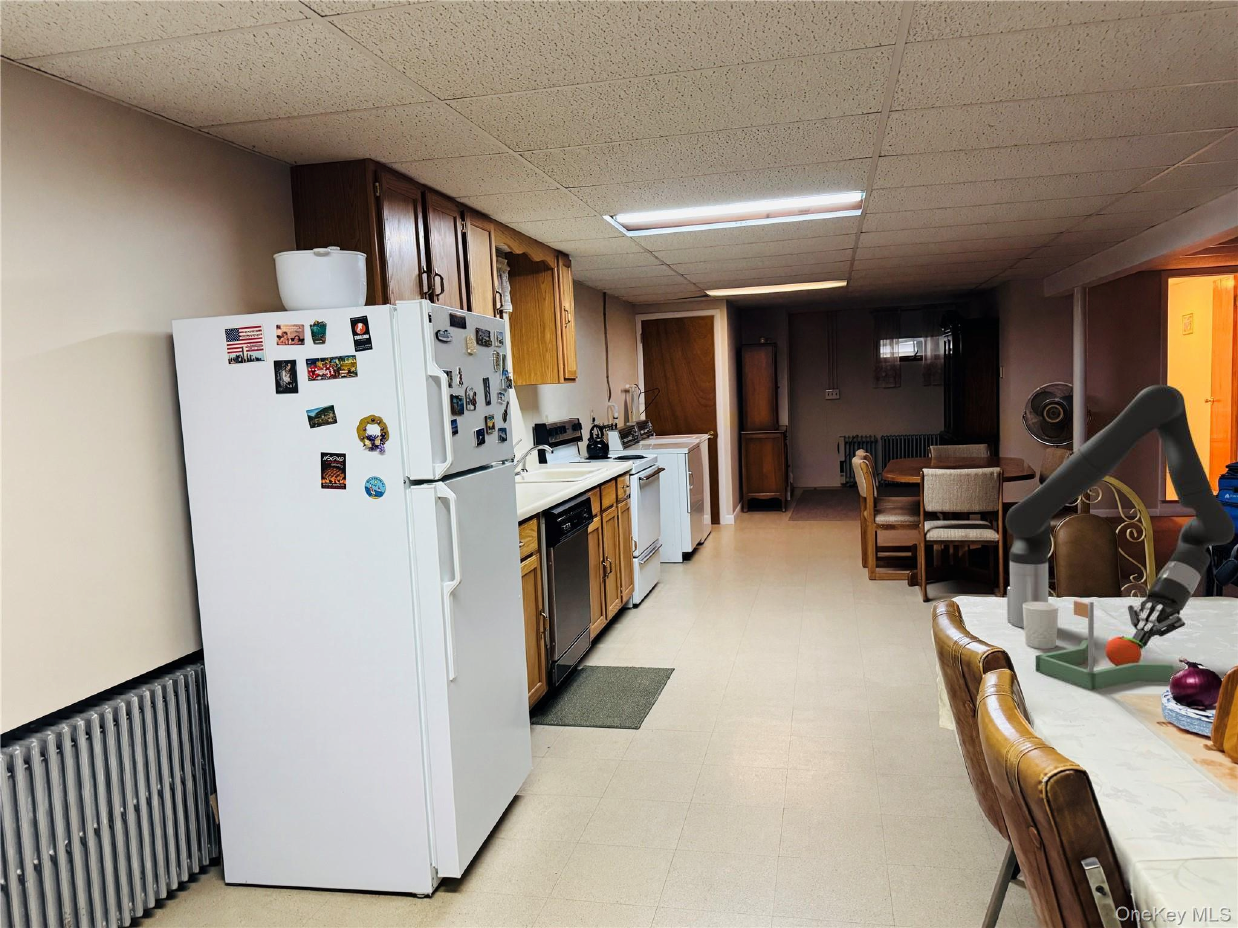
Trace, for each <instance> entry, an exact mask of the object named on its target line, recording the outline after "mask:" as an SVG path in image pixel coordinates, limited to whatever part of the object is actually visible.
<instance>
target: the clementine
mask: <svg viewBox="0 0 1238 928" xmlns="http://www.w3.org/2000/svg"><path fill="white" fill-rule="evenodd" d="M1136 642H1137V643H1139V644H1141V643H1140V642H1138V641H1137V640H1135V639H1132V637H1126V636H1124V635H1123V636H1115V637H1113V638H1112V639H1110V640H1109V641H1108V642H1107V644H1106V646H1105V650H1104V651H1105V655H1106V658H1107V660H1108V661H1109V663H1110V664H1112V665H1114V667H1115V666H1120V665H1125V664H1130V663H1140V660H1141V659H1142V658H1141V657H1142V649H1140V647H1139V646H1138V644H1137V643H1136ZM1141 645H1142V644H1141ZM1142 646H1143V645H1142ZM1143 648H1144V649H1145V651H1147V650H1146V646H1145V647H1144V646H1143Z"/></svg>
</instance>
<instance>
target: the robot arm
mask: <svg viewBox="0 0 1238 928" xmlns="http://www.w3.org/2000/svg"><path fill="white" fill-rule="evenodd" d="M1185 403H1186V402H1185V398H1184V395H1183V394H1182V392H1181V391H1179V390H1178V389H1177V388H1176V387H1174V386H1170V385H1167V384H1166V385H1164V384H1154V385H1150V386H1148V387H1146V388H1144V389H1143V390H1141V391H1140V392H1138V394H1137V395H1136V396H1135V398H1134V399H1132V401H1131V402H1130V403H1129V404H1128V405H1127V406H1126V407H1125V408H1124V410H1123V411H1122V412H1120V414H1119V415H1118V416H1117V417H1116V418H1115V419H1113V421H1112V422H1111V423H1109V424H1108V425H1107V426H1106V427H1104V428H1103V429H1100V431H1099V432H1097V433H1096V434H1095V435H1093V436H1092V437H1091V438H1090V439H1089V440H1087V441H1086V442H1085V443H1084V444H1082V445H1081V446H1080V447H1079V448H1078V449H1077V450H1076V451H1074V452H1073V453H1072V454H1071V455H1070V456H1068V458H1067V459H1066V460H1064V462H1063V463H1062V464H1061V465H1060V466H1059V467H1057V468H1056V470H1055V471H1054V472H1053V473H1052V474H1050V476H1049V477H1048V478H1047V479H1046V480H1045V481H1044V482H1043V483H1042V484H1041V485H1040V486H1039V487H1038V488H1037V489H1036V490H1034V491H1033V492H1032V493H1030V494H1029V495H1028V496H1027V497H1025V498H1024V499H1022V500H1021V501H1020V502H1018V503H1017V504H1014V505H1013V506H1012V507H1011V508H1009V510H1008V512H1007V514H1006V516H1005V526H1006V529H1007V531H1008V532H1009V533H1010V534H1011V535H1013V542H1012V546H1011V548H1010V551H1009V586H1008V587H1007V588H1006V598H1007V599H1006V601H1007V602H1006V607H1007V609H1006V613H1007V615H1006V616H1007V617H1006V620H1007V622H1008V623H1010V624H1011V625H1012V626H1015V627H1017V628H1022V629H1024V620H1023V604H1024V603H1026V602H1047V603H1049V554H1050V550H1051V535H1052V532H1051V529H1052V528H1051V527H1052V525H1051V518H1052V517H1054V515H1056V514H1057V512H1059V511H1060V510H1061V509H1062V508H1063V507H1064V506H1066V505H1068V504H1069V503H1072V502H1073V501H1074V500H1076V499H1077V498H1079V497H1081V496H1082V495H1084V494H1086V493H1087V492H1088V491H1090V490H1091V489H1093V488H1094V487H1095V486H1096V485H1098V484H1099V483H1100V482H1101V481H1103V480H1104V479H1105V478H1106V477H1107V476H1109V475H1110V474H1111V473H1112V472H1113V471H1114V470H1115V469H1116V468H1117V467H1118V466H1119V465H1120V464H1121V462H1122V461H1123V460H1124V459H1125V458H1126V456H1127V455H1128V454H1129V452H1130V451H1131V450H1132V448H1133V447H1134V446H1135V445H1136V444H1137V443H1139V441H1141V440H1142V439H1143V438H1145V437H1146V436H1147V435H1149V434H1150V433H1152V431H1154V430H1155V431H1156V432H1157V434H1158V437H1159V439H1160V441H1161V443H1162V447H1163V451H1164V455H1165V460H1166V465H1167V466H1166V467H1167V471H1168V474H1169V479H1170V482H1171V485H1172V487H1173V489H1174V492H1175V495H1176V497H1177V500H1178V502H1179V504H1180V506H1181V507H1182V508H1185V509H1190V510H1193V511H1194V512H1195V513H1196V515H1197V517H1194V518H1191V519H1189V520H1188V521H1187V522H1186V523H1184V525H1183V526H1182V528H1181V530H1180V532H1179V536H1178V541H1177V543H1176V549H1175V551H1174V552H1173V554H1172V555H1171V557H1170V558H1169V560H1168V561H1167V563H1166V564H1165V565H1164V567H1163V568H1162V569H1161V570H1160V572H1159V573H1158V575H1157V577H1156V578H1155V580H1154V581H1153V583H1152V585H1151V586H1150V587H1149V590H1148V591H1147V595H1146V597H1145V599H1144V600H1142V601H1141V602H1140V605H1137V606H1134V605H1132V604H1129V605H1128V606H1127V610H1128V611H1127V612H1128V615H1129V619H1130V623H1131V626H1133V627H1134V629H1135V630H1136V631H1135V632H1134V634H1133V636H1132V637H1131V638H1132V639H1135V640H1137V641H1138V642H1140V643H1141V644H1142V645H1143V646H1144V647H1145V648H1146V646H1148V643H1149V642H1150V641H1151V639H1152V638H1153V637H1155V636H1158V637H1160V638H1161V637H1165V636H1166V635H1168V634H1170V633H1172V632H1173V631H1177V630H1178V629H1180V628H1183V627H1185V625H1186V622H1185V620H1183V618H1182V617H1181V616H1180V615H1181V612H1182V611H1183V609H1184V608H1185V606H1186V605H1187V603H1188V601H1189V600H1190V598H1191V597H1192V595H1193V593H1194V592H1195V591H1196V588H1198V587H1197V586H1198V584H1199V583H1200V580H1201V578H1202V576H1203V575H1204V573H1205V571H1206V570H1207V568H1208V566H1209V565H1210V562H1211V557H1210V555H1209V553H1208V552H1207V551H1206V550H1207V548H1208V547H1213V546H1219V545H1226V544H1228V543H1230V542H1231V541H1232V540H1233V538H1234V537H1235V533H1236V529H1235V523H1234V521H1233V519H1232V517H1231V516H1230V514H1229V512H1227V510H1226V509H1225V507H1224V506H1223V504H1222V503H1221V502H1220V501H1219V499H1218V498H1217V497H1216V496H1215V494H1214V492H1213V489H1212V486H1211V484H1210V481H1209V479H1208V478H1209V477H1208V475H1207V473H1206V471H1205V468H1204V466H1203V464H1202V461H1201V459H1200V456H1199V453H1198V452H1197V448H1196V445H1195V443H1194V441H1193V436H1192V433H1191V431H1190V430H1191V429H1190V426H1189V422H1188V421H1189V420H1188V416H1187V409H1186V404H1185ZM1136 643H1137V642H1136ZM1137 644H1138V646H1139V647H1140V649H1141V650H1143V648H1144V647H1143V646H1142V645H1141V644H1139V643H1137Z"/></svg>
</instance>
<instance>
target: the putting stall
mask: <svg viewBox="0 0 1238 928" xmlns="http://www.w3.org/2000/svg"><path fill="white" fill-rule="evenodd" d="M1094 603H1095V602H1094V601H1088V602H1082V601H1078V600H1073V615H1074V616H1077V617H1082V618H1085V619H1087V621H1088V623H1087V626H1088V627H1087V629H1088V630H1087V639H1082V642H1081V643H1080V645H1079V647H1073V648H1068V649H1063V650H1058V651H1052V652H1051V651H1050V652H1048V653H1047V652H1045V653H1041V654H1037V655H1035V672H1038V671H1040V672H1039V673H1041V674H1044V673H1045V675H1047V676H1049V675H1050V676H1049V677H1052V676H1054V677H1053V678H1055V679H1058V678H1059V679H1058V680H1061V679H1062V680H1061V681H1064V682H1067V681H1068V682H1067V683H1069V682H1071V683H1070V684H1072V683H1073V685H1075V684H1076V686H1078V685H1079V686H1078V687H1082V688H1084V687H1085V688H1084V689H1087V690H1089V689H1090V690H1089V691H1093V690H1094V689H1095V690H1098V689H1097V688H1100V689H1104V688H1108V687H1113V686H1119V685H1121V684H1128V683H1131V682H1137V681H1138V682H1139V681H1140V682H1165V683H1166V682H1168V683H1169V681H1170V679H1171V677H1172V676H1173V677H1174V665H1173V664H1172V663H1158V662H1157V663H1152V662H1151V663H1147V662H1138V663H1130V664H1125V665H1120V666H1115V665H1114V666H1110V667H1105V668H1101V669H1095V670H1094V668H1095V664H1094V663H1095V661H1094V660H1095V655H1094V653H1095V648H1094V647H1095V645H1094V644H1095V643H1094V642H1095V640H1094V639H1095V637H1094V636H1095V635H1094V633H1095V630H1094V629H1095V625H1094V623H1095V619H1094V617H1095V616H1094V615H1095V613H1094V611H1095V609H1094V608H1095V607H1094V606H1095V604H1094ZM1087 660H1088V661H1087ZM1086 661H1087V662H1086ZM1085 663H1088V664H1087V666H1088V667H1087V669H1085V668H1081V667H1078V666H1079V665H1084V664H1085ZM1078 664H1079V665H1078ZM1073 665H1074V666H1073Z"/></svg>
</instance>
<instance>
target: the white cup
mask: <svg viewBox="0 0 1238 928" xmlns="http://www.w3.org/2000/svg"><path fill="white" fill-rule="evenodd" d="M1023 620H1024V628H1023V631H1024V638H1025V639H1024V641H1025V645H1026V646H1027V647H1030V648H1034V649H1041V650H1042V649H1043V650H1048V649H1049V650H1050V649H1054V648H1055V647H1056V646H1057V635H1058V626H1059V625H1058V623H1059V622H1058V621H1059V605H1058V604H1055V603H1051V602H1048V603H1047V602H1026V603H1024V604H1023Z"/></svg>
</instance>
